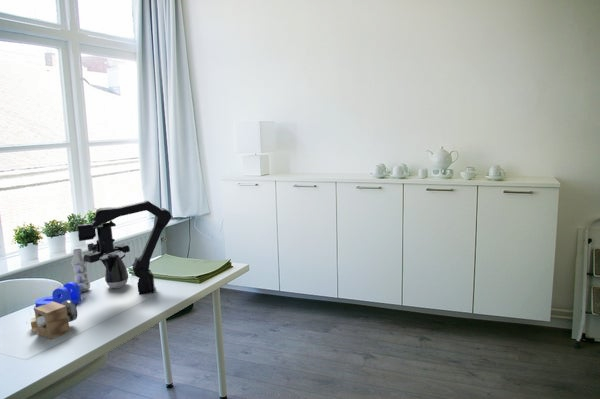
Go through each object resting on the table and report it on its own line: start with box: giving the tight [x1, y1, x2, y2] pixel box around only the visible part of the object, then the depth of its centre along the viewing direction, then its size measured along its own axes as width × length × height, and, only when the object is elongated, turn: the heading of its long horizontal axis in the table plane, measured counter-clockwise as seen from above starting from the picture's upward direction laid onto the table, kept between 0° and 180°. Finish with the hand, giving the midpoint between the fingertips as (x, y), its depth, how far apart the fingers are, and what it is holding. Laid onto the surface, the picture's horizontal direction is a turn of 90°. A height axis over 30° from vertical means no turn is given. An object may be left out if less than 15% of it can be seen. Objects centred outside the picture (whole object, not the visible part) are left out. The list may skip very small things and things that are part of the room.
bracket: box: [34, 281, 82, 308], centre depth 194 cm, size 18×8×9 cm, turn 80°
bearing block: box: [33, 302, 71, 340], centre depth 166 cm, size 7×9×10 cm
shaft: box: [37, 300, 78, 327], centre depth 167 cm, size 12×8×8 cm, turn 146°
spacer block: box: [30, 317, 38, 333], centre depth 170 cm, size 4×4×4 cm
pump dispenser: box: [104, 253, 129, 289], centre depth 212 cm, size 10×10×15 cm
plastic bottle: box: [70, 248, 91, 293], centre depth 207 cm, size 6×7×20 cm
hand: (109, 272), depth 196 cm, fingers closed
